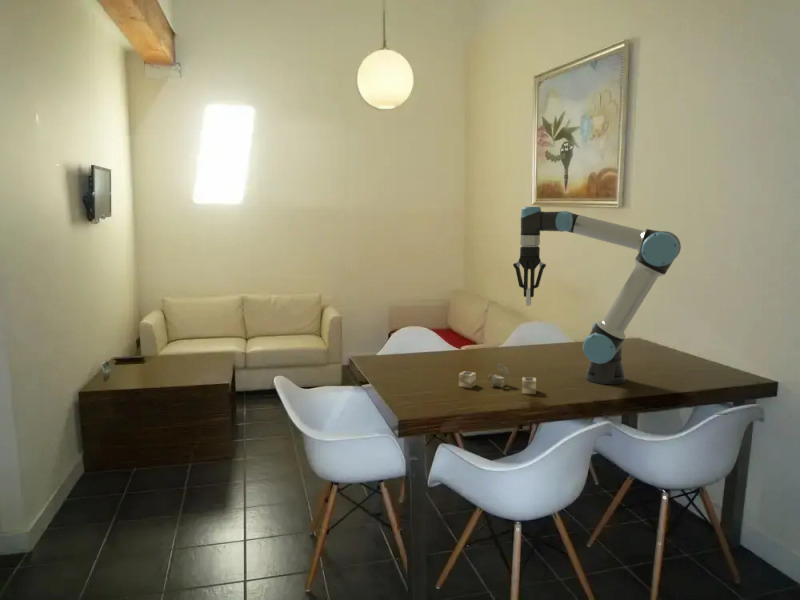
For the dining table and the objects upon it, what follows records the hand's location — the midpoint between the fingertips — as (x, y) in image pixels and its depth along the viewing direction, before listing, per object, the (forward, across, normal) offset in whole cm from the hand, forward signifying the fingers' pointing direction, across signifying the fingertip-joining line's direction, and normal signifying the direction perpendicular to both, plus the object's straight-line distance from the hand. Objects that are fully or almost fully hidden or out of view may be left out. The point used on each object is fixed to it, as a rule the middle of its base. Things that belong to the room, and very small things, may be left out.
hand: (528, 305), depth 249 cm
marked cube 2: (+31, -4, +18) cm, 36 cm away
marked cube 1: (+31, +20, +18) cm, 41 cm away
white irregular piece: (+31, +8, +15) cm, 35 cm away
